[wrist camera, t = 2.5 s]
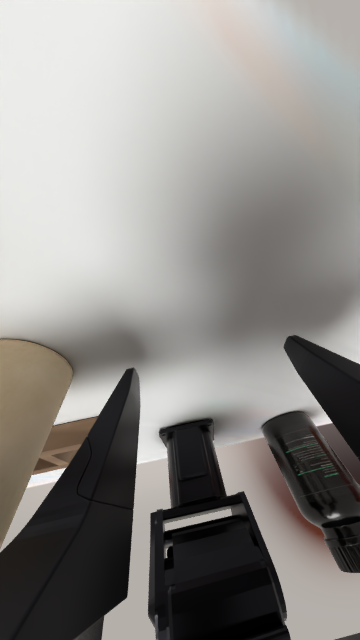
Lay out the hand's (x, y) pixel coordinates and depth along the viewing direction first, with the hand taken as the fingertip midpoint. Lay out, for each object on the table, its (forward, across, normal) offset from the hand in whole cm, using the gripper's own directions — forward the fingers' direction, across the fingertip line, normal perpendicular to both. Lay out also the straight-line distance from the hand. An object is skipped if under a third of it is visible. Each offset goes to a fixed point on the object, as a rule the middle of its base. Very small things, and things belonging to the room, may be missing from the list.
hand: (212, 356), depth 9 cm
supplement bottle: (+2, -11, +21) cm, 24 cm away
